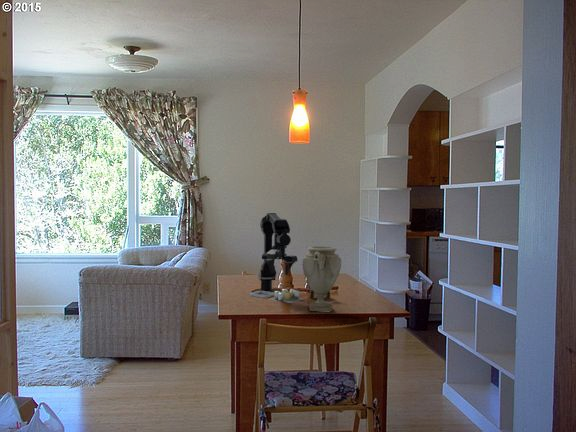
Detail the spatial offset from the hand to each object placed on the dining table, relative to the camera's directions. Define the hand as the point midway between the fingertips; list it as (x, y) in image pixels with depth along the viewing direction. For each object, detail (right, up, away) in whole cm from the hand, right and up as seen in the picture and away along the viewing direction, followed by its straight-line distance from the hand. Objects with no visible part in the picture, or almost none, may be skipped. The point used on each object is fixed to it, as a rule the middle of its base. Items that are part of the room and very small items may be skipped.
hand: (279, 274), depth 286 cm
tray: (-9, -13, +9) cm, 18 cm away
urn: (+20, -15, -19) cm, 31 cm away
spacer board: (+4, -14, +1) cm, 14 cm away
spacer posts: (+4, -14, +1) cm, 14 cm away
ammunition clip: (+21, -14, +5) cm, 26 cm away
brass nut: (+4, -13, +1) cm, 13 cm away
